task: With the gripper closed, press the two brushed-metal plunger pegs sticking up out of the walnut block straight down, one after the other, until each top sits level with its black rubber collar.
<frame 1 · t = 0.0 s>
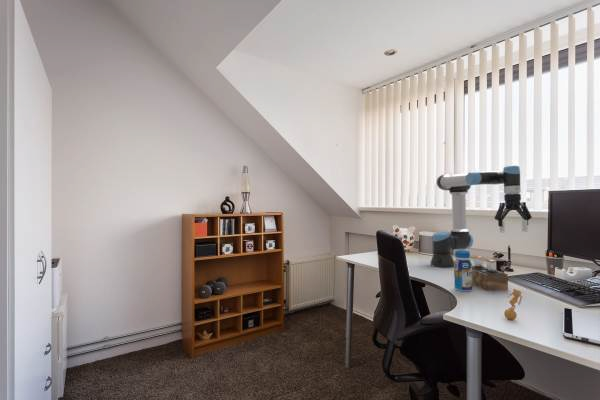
hand: (513, 232, 168), 28 cm above the table, fingers open, 13 cm apart
walnut block: (485, 285, 164), on the table
front peg: (491, 267, 159), point 11 cm above the table, slide at 6.0 cm
back peg: (478, 263, 169), point 11 cm above the table, slide at 6.0 cm
beverage bottle: (463, 289, 158), on the table
figurine: (513, 319, 119), on the table
coffee mug: (494, 276, 183), on the table
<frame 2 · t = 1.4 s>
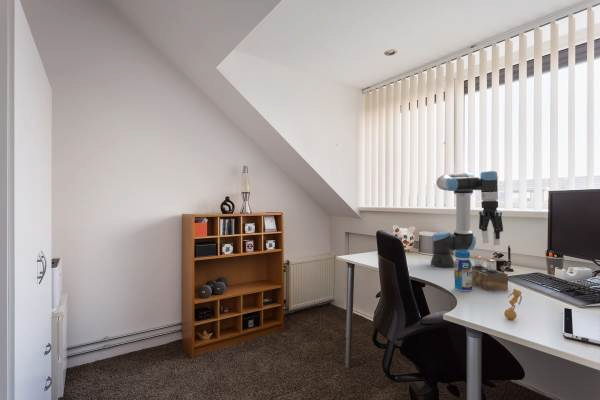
hand: (491, 244, 159), 23 cm above the table, fingers open, 7 cm apart
nothing on the table moved.
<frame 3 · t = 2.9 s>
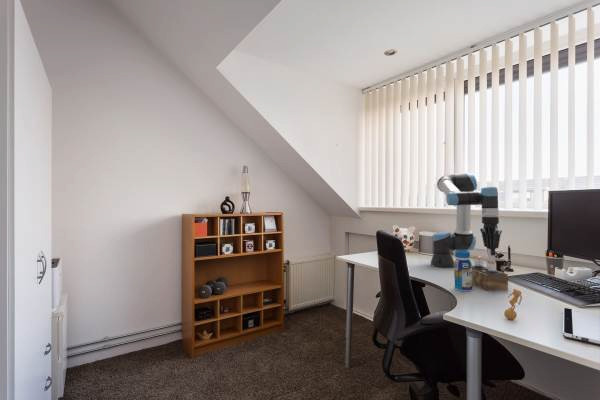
hand: (491, 261, 159), 14 cm above the table, fingers closed
front peg: (491, 269, 159), point 10 cm above the table, slide at 5.3 cm, touching gripper
everything else where it was.
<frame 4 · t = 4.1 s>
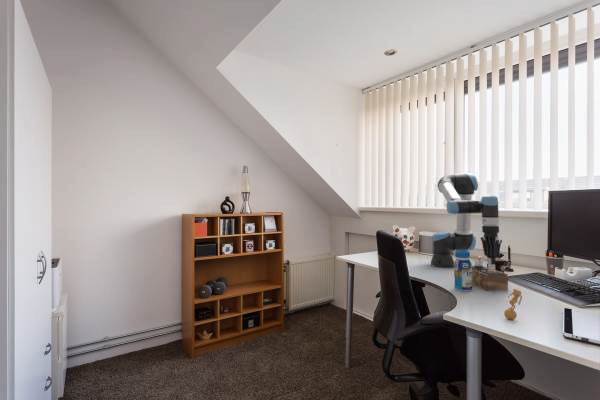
hand: (491, 270, 159), 9 cm above the table, fingers closed
front peg: (492, 278, 159), point 5 cm above the table, slide at 0.5 cm, touching gripper
everything else where it was.
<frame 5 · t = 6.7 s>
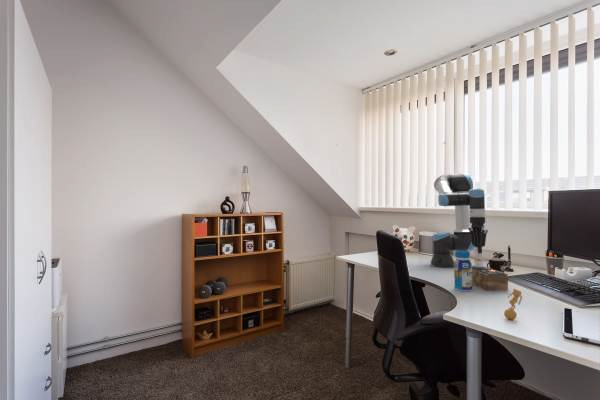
hand: (478, 258, 169), 14 cm above the table, fingers closed
front peg: (492, 278, 159), point 5 cm above the table, slide at 0.5 cm
back peg: (478, 266, 169), point 9 cm above the table, slide at 4.7 cm, touching gripper
everything else where it was.
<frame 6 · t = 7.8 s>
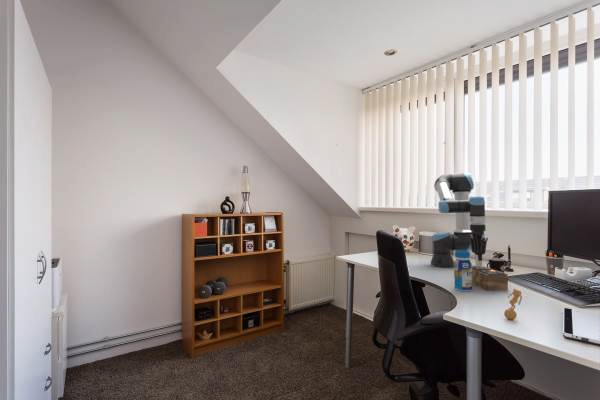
hand: (478, 266, 169), 9 cm above the table, fingers closed
back peg: (479, 273, 169), point 5 cm above the table, slide at 0.5 cm, touching gripper
everything else where it was.
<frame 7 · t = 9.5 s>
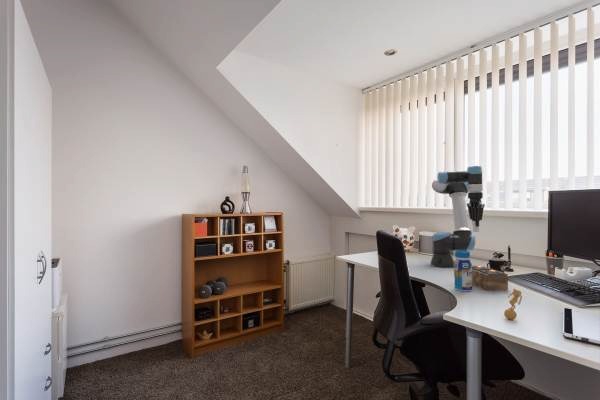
hand: (476, 231, 179), 27 cm above the table, fingers closed
back peg: (479, 273, 169), point 5 cm above the table, slide at 0.5 cm
everything else where it was.
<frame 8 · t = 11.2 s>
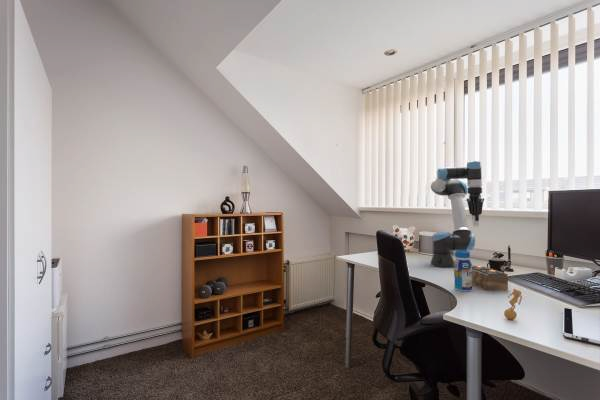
hand: (475, 226, 182), 30 cm above the table, fingers closed
nothing on the table moved.
at the end: front peg slide at 0.5 cm; back peg slide at 0.5 cm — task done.
